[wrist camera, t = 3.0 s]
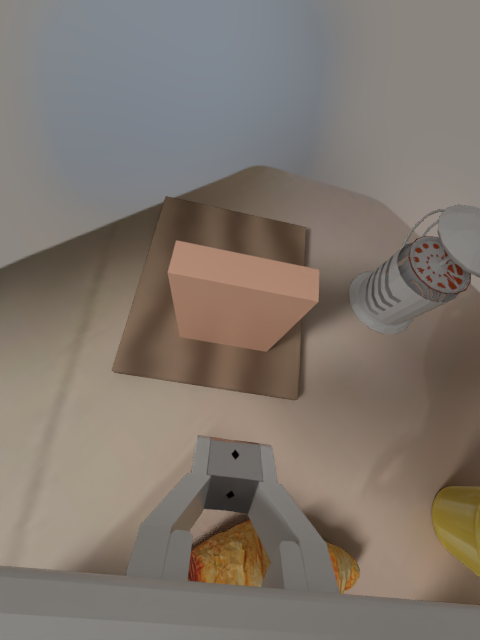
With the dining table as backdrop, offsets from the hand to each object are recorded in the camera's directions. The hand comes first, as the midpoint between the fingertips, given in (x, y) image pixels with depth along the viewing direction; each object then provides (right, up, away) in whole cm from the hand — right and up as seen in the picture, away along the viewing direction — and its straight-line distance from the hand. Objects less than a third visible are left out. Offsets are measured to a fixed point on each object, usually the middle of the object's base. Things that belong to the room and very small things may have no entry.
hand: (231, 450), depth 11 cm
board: (-2, +9, +23) cm, 25 cm away
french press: (+20, +9, +27) cm, 35 cm away
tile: (-1, +4, +20) cm, 20 cm away
